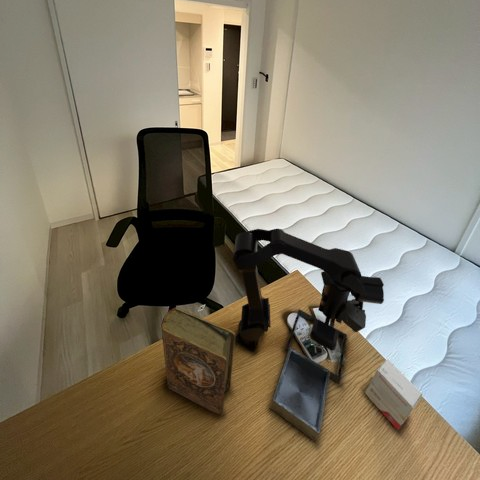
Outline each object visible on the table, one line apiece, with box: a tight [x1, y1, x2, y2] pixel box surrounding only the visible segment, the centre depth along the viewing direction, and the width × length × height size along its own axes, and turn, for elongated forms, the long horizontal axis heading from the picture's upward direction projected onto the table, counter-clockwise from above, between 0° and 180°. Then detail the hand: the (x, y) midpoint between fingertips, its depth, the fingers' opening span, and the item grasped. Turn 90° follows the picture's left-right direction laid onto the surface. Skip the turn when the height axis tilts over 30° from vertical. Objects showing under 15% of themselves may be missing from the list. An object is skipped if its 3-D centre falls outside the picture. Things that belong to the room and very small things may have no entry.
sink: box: [270, 346, 331, 442], centre depth 63 cm, size 11×13×4 cm
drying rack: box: [284, 308, 348, 385], centre depth 74 cm, size 16×14×4 cm
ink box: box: [365, 358, 423, 431], centre depth 61 cm, size 9×5×12 cm, turn 33°
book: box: [160, 306, 236, 416], centre depth 58 cm, size 16×6×25 cm, turn 71°
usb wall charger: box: [308, 323, 325, 355], centre depth 74 cm, size 4×7×4 cm, turn 174°
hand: (322, 329), depth 71 cm, fingers open, 9 cm apart
